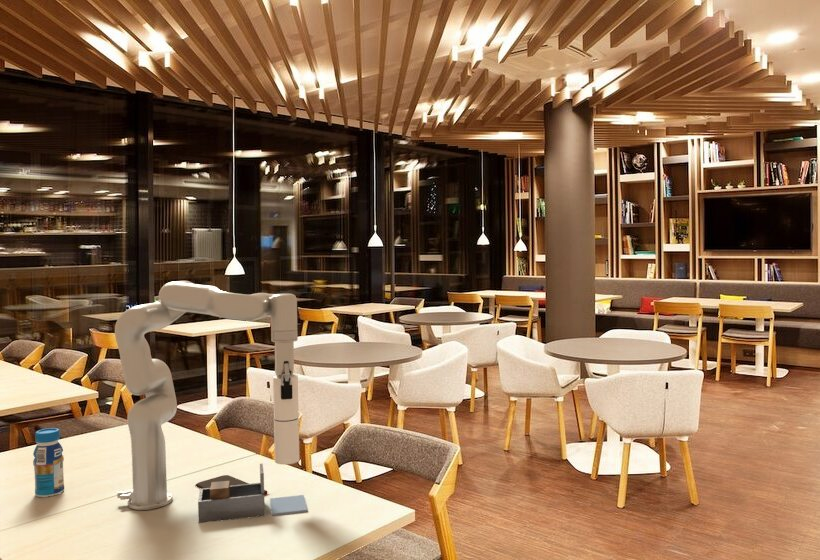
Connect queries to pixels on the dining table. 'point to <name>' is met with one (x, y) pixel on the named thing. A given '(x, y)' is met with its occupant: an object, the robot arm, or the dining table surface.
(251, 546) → the dining table surface
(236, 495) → the rack
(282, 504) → the mat
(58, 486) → the beverage bottle
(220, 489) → the walnut offcut upper
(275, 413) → the cylindrical container
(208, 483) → the smartphone
